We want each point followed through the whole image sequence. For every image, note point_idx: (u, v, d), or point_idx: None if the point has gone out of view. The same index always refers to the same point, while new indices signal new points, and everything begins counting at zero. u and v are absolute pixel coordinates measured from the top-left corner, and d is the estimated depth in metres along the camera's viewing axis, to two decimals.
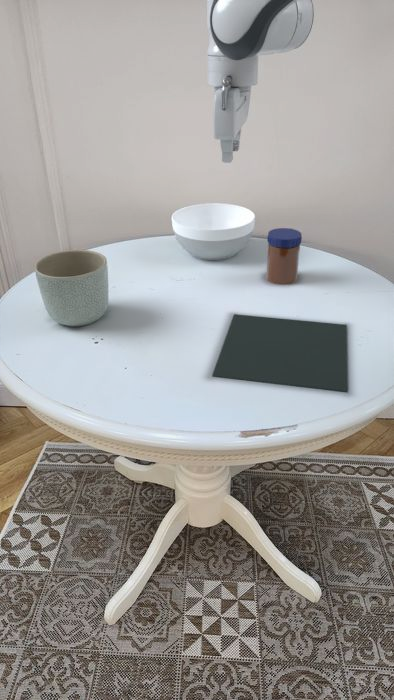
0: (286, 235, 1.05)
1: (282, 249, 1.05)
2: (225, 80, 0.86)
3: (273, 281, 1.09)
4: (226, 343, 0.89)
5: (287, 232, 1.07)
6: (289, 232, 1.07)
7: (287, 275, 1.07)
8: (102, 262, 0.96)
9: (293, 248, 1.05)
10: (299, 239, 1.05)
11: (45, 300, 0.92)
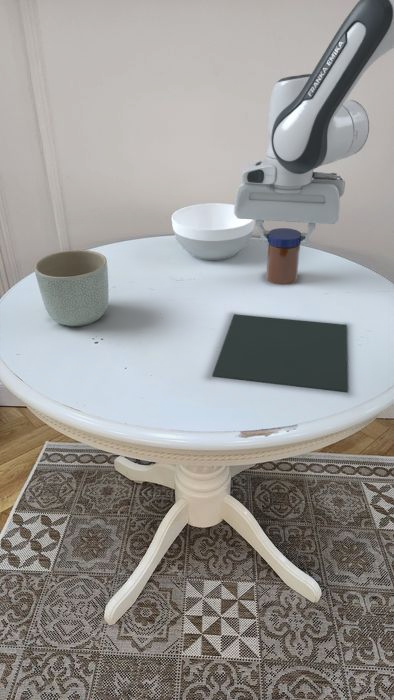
0: (286, 235, 1.05)
1: (282, 249, 1.05)
2: (337, 174, 0.98)
3: (273, 281, 1.09)
4: (226, 343, 0.89)
5: (287, 232, 1.07)
6: (289, 232, 1.07)
7: (287, 275, 1.07)
8: (102, 262, 0.96)
9: (293, 248, 1.05)
10: (299, 239, 1.05)
11: (45, 300, 0.92)
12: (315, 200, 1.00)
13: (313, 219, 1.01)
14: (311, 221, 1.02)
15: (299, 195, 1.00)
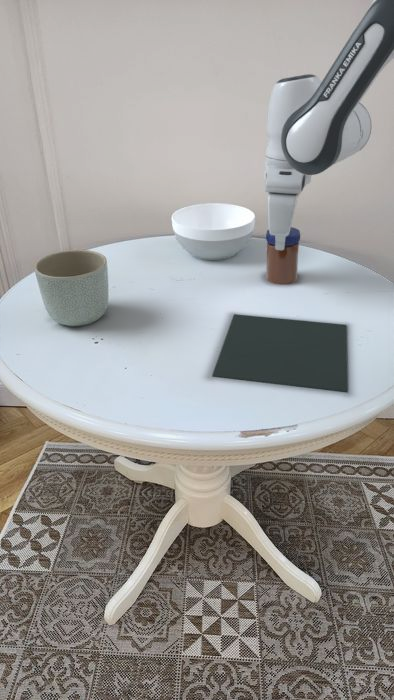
0: None
1: None
2: None
3: (273, 281, 1.09)
4: (226, 343, 0.89)
5: None
6: None
7: (287, 274, 1.07)
8: (102, 262, 0.96)
9: (292, 247, 1.05)
10: None
11: (45, 300, 0.92)
12: None
13: (295, 207, 1.08)
14: None
15: None
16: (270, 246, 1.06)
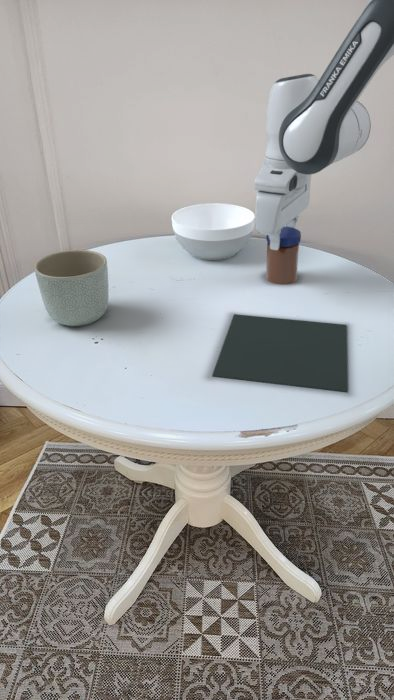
0: (283, 230, 1.06)
1: (282, 249, 1.04)
2: None
3: (274, 281, 1.09)
4: (226, 343, 0.89)
5: (280, 233, 1.05)
6: None
7: (288, 274, 1.07)
8: (102, 262, 0.96)
9: (293, 247, 1.05)
10: None
11: (45, 300, 0.92)
12: (302, 191, 1.05)
13: (302, 208, 1.07)
14: (301, 211, 1.07)
15: None
16: None
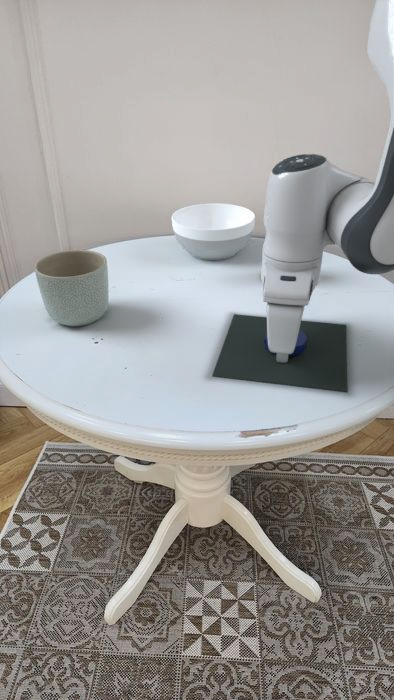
0: None
1: None
2: None
3: None
4: (226, 343, 0.89)
5: None
6: None
7: None
8: (102, 262, 0.96)
9: None
10: None
11: (45, 300, 0.92)
12: None
13: None
14: None
15: None
16: None
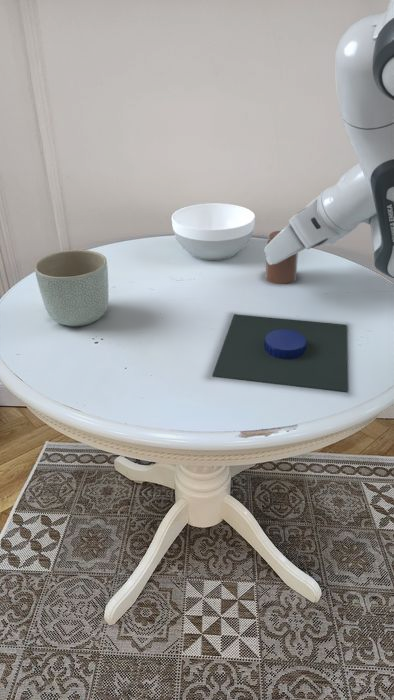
0: (283, 336, 0.87)
1: None
2: None
3: (274, 281, 1.09)
4: (226, 343, 0.89)
5: (282, 341, 0.86)
6: (279, 341, 0.86)
7: (288, 274, 1.08)
8: (102, 262, 0.96)
9: None
10: None
11: (45, 300, 0.92)
12: None
13: None
14: None
15: None
16: None
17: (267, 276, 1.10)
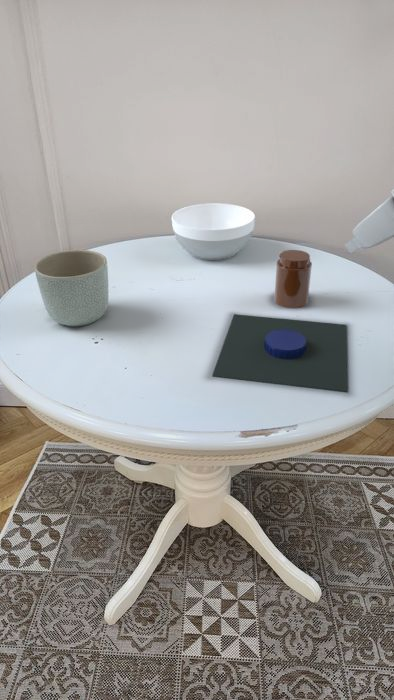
0: (283, 336, 0.87)
1: (295, 270, 0.96)
2: None
3: (284, 305, 1.00)
4: (226, 343, 0.89)
5: (282, 341, 0.86)
6: (279, 341, 0.86)
7: (300, 298, 0.99)
8: (102, 262, 0.96)
9: (306, 269, 0.96)
10: None
11: (45, 300, 0.92)
12: None
13: None
14: None
15: None
16: (282, 268, 0.97)
17: (277, 299, 1.01)
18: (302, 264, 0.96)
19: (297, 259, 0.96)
